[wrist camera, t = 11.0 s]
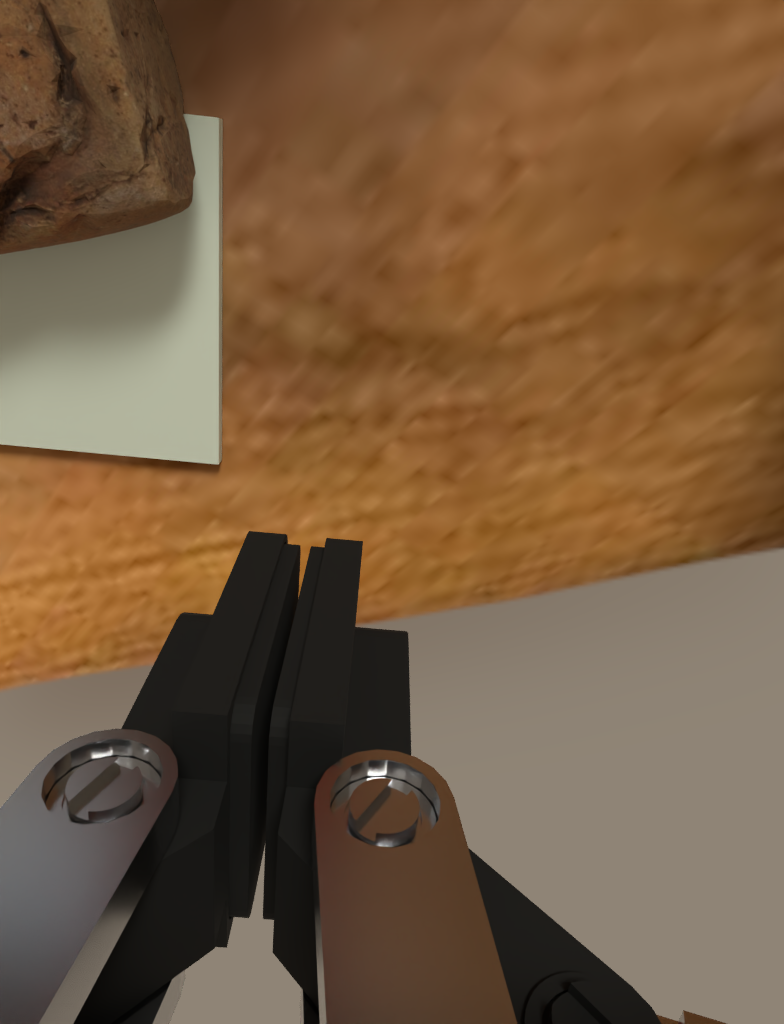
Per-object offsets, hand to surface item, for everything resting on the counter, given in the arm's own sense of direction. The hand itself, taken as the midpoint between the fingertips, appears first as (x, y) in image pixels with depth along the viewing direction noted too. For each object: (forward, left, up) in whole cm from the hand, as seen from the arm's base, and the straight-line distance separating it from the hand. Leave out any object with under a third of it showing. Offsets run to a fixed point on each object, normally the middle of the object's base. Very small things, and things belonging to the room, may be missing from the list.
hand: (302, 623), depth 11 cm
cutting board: (+17, 0, -29) cm, 34 cm away
